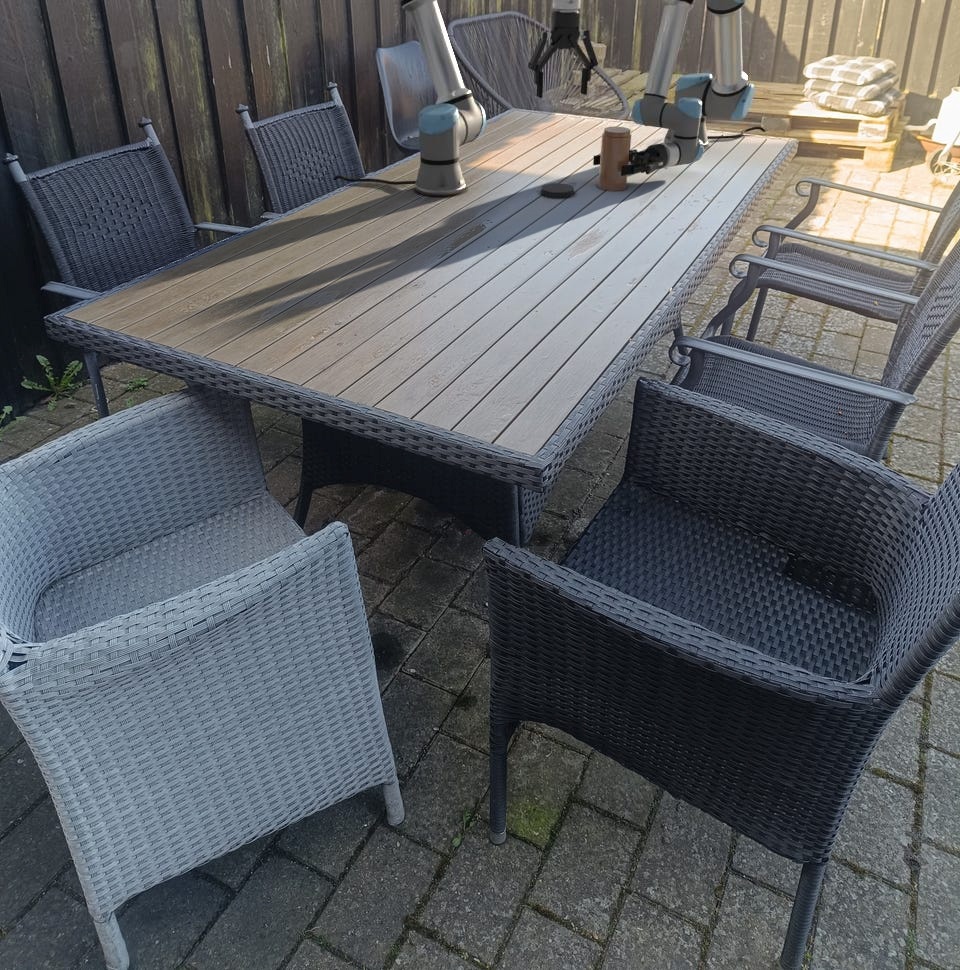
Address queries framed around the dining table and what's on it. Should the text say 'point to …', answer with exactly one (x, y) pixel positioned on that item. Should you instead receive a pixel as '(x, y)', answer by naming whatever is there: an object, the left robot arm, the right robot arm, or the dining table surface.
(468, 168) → the dining table surface
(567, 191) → the lid
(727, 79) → the right robot arm
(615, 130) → the jar
